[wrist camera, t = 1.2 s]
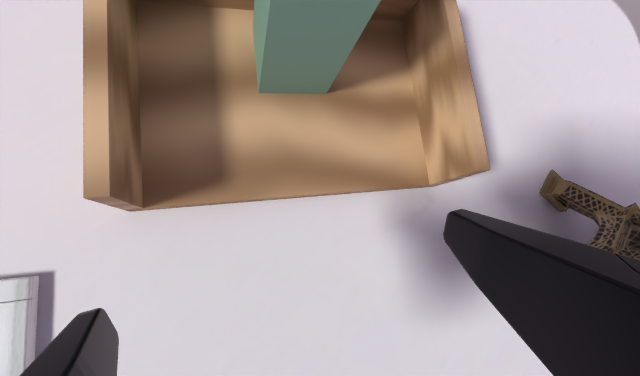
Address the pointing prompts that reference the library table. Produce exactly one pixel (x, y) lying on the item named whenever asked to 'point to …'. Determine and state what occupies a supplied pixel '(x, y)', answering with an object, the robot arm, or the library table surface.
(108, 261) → the library table surface
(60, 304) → the library table surface
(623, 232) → the eiffel tower
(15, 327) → the white flat slab
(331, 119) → the oak crate
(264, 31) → the green block
